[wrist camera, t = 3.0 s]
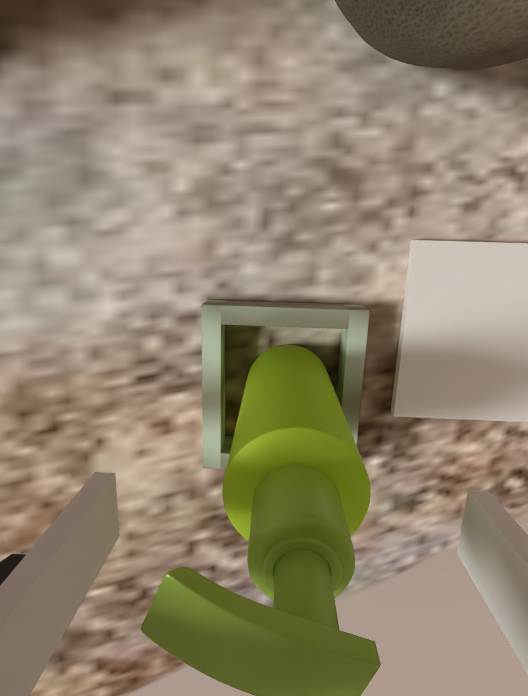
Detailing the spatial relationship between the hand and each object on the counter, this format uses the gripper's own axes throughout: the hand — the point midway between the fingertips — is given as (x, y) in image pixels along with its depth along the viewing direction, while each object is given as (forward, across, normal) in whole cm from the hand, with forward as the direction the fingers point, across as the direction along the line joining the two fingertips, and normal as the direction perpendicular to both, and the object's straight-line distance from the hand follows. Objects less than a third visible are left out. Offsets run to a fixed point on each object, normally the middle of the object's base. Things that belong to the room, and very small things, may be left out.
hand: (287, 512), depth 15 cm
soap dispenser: (+14, 0, 0) cm, 14 cm away
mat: (+14, +14, +4) cm, 20 cm away
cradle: (+14, 0, 0) cm, 14 cm away
